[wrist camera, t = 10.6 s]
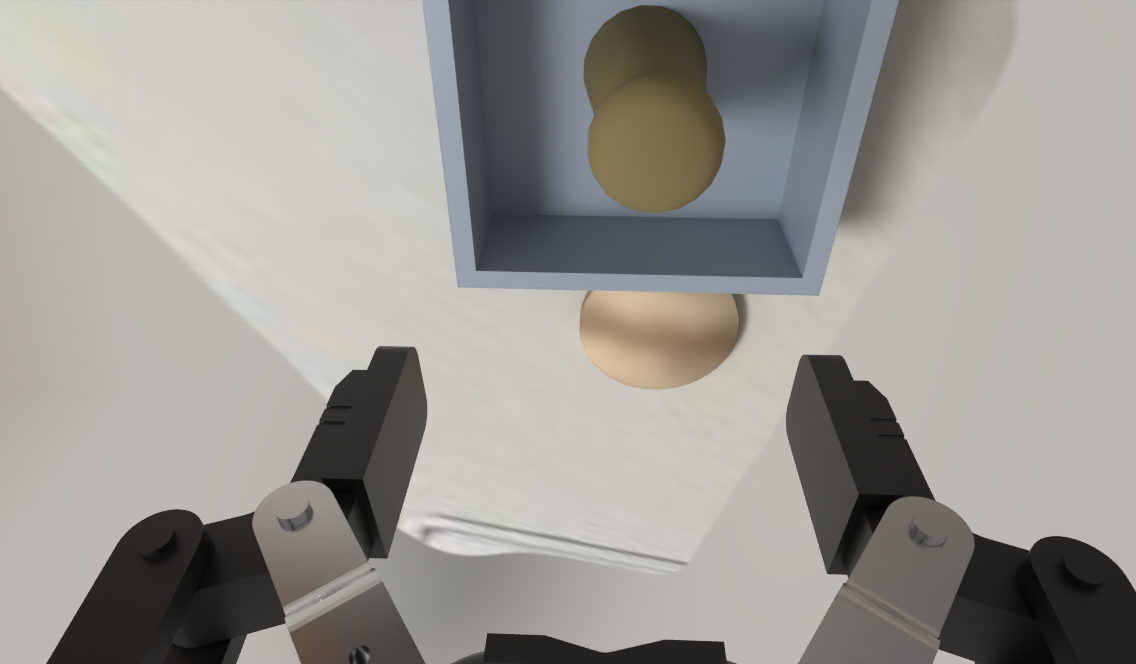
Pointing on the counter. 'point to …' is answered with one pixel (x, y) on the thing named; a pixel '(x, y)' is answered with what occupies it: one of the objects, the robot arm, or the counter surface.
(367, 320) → the counter surface
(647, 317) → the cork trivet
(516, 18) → the bin
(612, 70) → the pepper shaker
